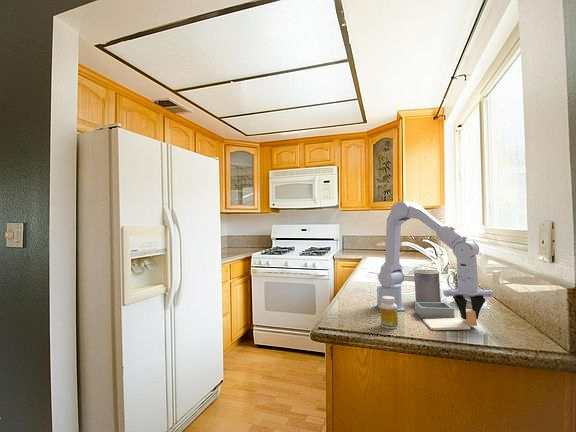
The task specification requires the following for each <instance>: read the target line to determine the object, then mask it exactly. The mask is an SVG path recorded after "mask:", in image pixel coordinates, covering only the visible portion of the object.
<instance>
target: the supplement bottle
mask: <svg viewBox="0 0 576 432" xmlns="http://www.w3.org/2000/svg"><path fill="white" fill-rule="evenodd" d="M382 301H383V303H381V305H380V309H381V310H380V309H379V310H380V325H381V327H382V328H385V329H387V330H388V329H389V330H390V329H391V330H392V329H398V327H399V323H398V322H399V319H398V318H399V316H398V311H397V305H396V304H395V303H394V302H395V298H394V297H392V296H383V297H382Z"/></svg>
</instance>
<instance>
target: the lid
mask: <svg viewBox="0 0 576 432" xmlns="http://www.w3.org/2000/svg"><path fill="white" fill-rule="evenodd" d="M422 321H423V323H424V324H425V325H426V326H427V327H428V328H429V329H430V330H431V331H449V330H451V331H452V330H456V331H458V330H471V327H476V326H477V327H478V320H476V312H475V311H474V310H472V308H466V319H463V318H459V317H455V318H441V319H422Z"/></svg>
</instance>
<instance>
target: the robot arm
mask: <svg viewBox="0 0 576 432" xmlns="http://www.w3.org/2000/svg"><path fill="white" fill-rule="evenodd" d="M410 219H414V220H419V221H420V222H422V224H424V225H425V226H427V227H429V228H430V230H433V231H434V232H435V233H436V238H437V239H439V240H440V241H441V242H442V243H443V244H444V245H446V246H447V247H448V248H449V249H451V250H452V253H453V255H454V256H455V257H456V268H457V272H456V275H457V277H456V279H458V281H457V282H458V289H455V288H454V289H453V288H452V289H451V288H449V289H442V290H443V296H444V297H445V298H448V297H452V299H453V301H454V300H455V302H456V306H457V309H459V310H458V311H459V314H460V317H461V318H460V319H462V320H463V319H466V309H467V306H466V303H467V300H466V299H465V298H464V297H463V296H470V299H471V304H472V306H471V309H472V310H474V311H475V312H476V320H477V321H478V319H479V316H480V313H481V310H482V307H483V306H484V304H485V302H486V298H487V297H488V298H495V292H494V290H491V289H479V276H478V274H479V273H478V262H477V255H478V254H479V252H480V248H479V245H478V244H477V242H476V241H474V240H473V239H468V237H467V236H466V235H463V234H461V233H460V232H459V231H457V230H456V229H457V228H456V226H455V225H448V224H445V225H444V224H443V223H441V222H440V221H439V220H438V219H436V218H435V217H434V216H433V215H431V213H429V211H427V210H426V209H425V208H424V207H423V206H422V205H420V204H419V203H417V202H416V201H403V200H402V201H401V200H399V201H397V202H395V203H394V204H393V205H391V206H390V212H389V215H388V216H387V218H386V229H385V230H386V231H385V236H386V237H385V254H384V255H385V258H384V261H385V262H384V263H383V265H382V266H381V267H380V271H379V274H378V282H379V284H380V286H376V299H377V301H376V302H377V303H376V305H377V307H378V309H379V311H381V309H380V305H381V303H383V301H382V297H383V296H392V297H394V298H395V302H394V303H395V304H396V305H397V312H398V311H399V312H405V311H406V310H405V308H404V306H403V301H402V300H403V299H402V283H403V282H404V280H405V275H404V271H403V266H402V264H401V263H400V257H401V256H400V255H401V236H402V235H401V231H402V230H401V229H402V225H403V224H404V223H406V221H408V220H410ZM485 297H486V298H485Z"/></svg>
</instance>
